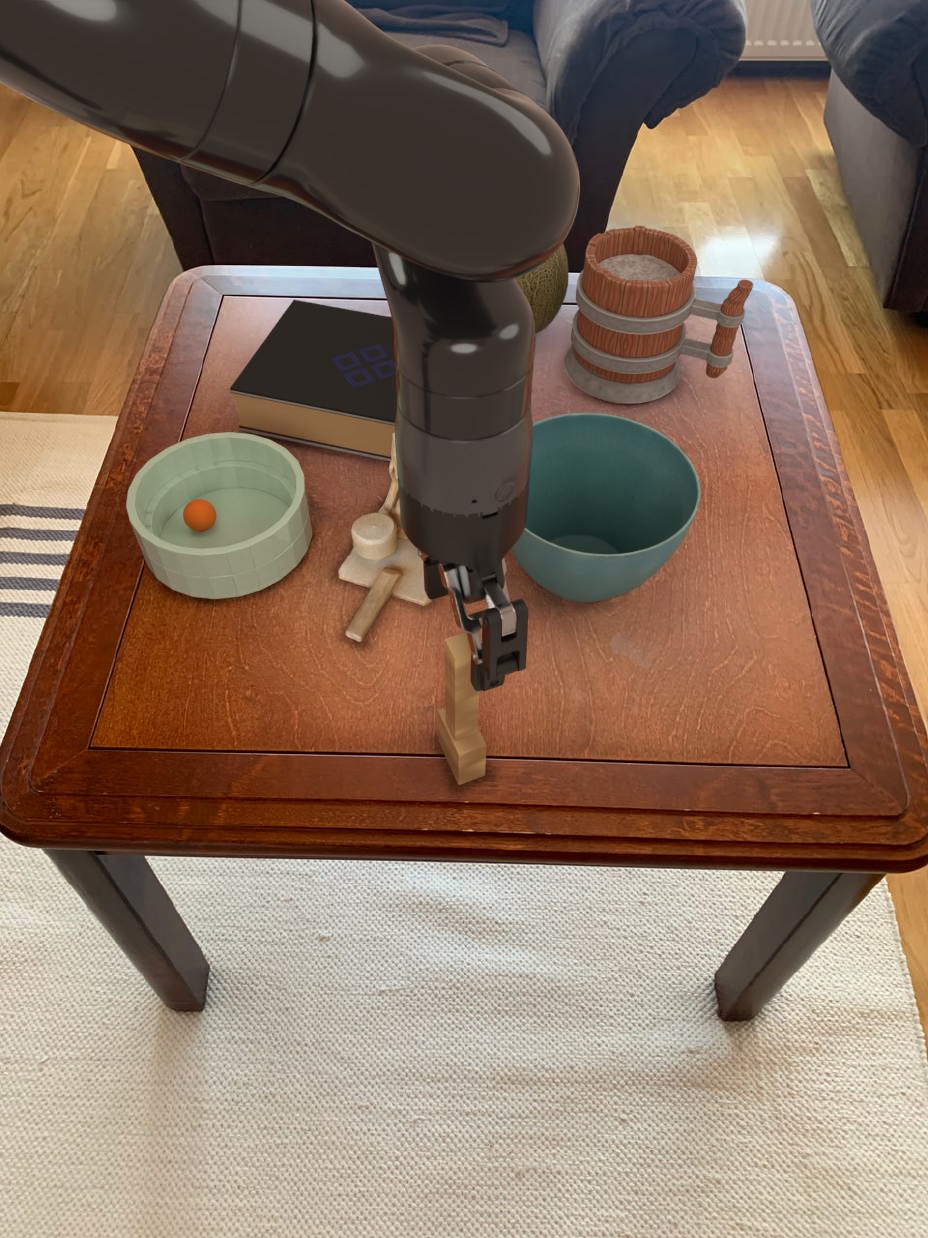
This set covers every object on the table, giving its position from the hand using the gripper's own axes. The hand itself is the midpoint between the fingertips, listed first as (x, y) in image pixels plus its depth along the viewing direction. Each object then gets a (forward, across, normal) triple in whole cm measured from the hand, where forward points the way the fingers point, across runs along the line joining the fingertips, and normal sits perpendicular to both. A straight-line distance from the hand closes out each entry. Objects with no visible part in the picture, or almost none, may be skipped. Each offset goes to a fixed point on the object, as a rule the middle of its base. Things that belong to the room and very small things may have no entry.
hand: (463, 637), depth 64 cm
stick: (+17, 0, 0) cm, 17 cm away
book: (+17, -46, +8) cm, 50 cm away
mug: (+17, -40, +40) cm, 59 cm away
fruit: (+17, -54, +30) cm, 64 cm away
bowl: (+17, -32, -12) cm, 38 cm away
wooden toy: (+17, -23, +3) cm, 29 cm away
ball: (+14, -34, -14) cm, 40 cm away
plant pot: (+17, -15, +19) cm, 30 cm away
